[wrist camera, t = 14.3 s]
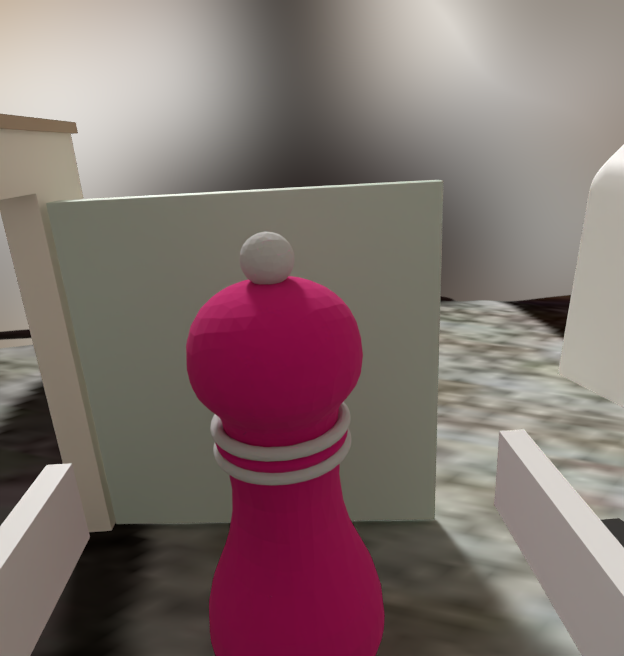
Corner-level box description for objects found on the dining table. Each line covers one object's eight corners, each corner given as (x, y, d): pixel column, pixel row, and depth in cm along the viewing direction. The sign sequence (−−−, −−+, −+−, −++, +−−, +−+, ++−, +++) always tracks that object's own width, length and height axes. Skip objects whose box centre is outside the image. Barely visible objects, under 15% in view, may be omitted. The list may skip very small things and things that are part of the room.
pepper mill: (288, 592, 28) (254, 213, 21) (413, 660, 24) (418, 219, 17) (186, 707, 22) (97, 245, 16) (325, 821, 18) (284, 264, 12)
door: (434, 519, 32) (443, 181, 25) (116, 524, 33) (45, 202, 27) (427, 492, 34) (433, 177, 28) (131, 497, 36) (70, 198, 29)
